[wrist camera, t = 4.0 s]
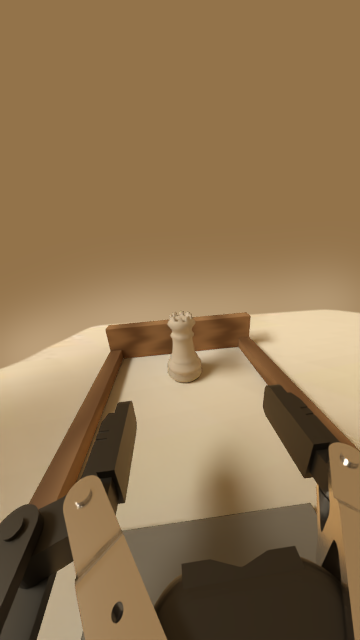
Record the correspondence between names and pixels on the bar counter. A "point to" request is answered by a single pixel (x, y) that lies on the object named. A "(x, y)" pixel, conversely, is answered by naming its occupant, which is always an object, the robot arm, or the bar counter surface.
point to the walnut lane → (146, 343)
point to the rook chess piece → (183, 349)
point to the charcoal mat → (219, 542)
